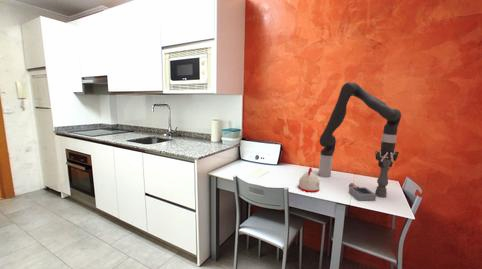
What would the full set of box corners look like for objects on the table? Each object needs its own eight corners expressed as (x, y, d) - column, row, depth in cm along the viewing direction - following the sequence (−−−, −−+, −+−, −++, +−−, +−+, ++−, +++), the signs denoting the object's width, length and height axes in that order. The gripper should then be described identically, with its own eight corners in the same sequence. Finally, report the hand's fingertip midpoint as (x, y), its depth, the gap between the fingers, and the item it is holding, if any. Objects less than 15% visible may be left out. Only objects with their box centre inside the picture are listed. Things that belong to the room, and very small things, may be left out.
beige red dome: (296, 189, 151) (297, 168, 148) (300, 182, 163) (302, 163, 160) (317, 194, 145) (319, 172, 142) (320, 187, 157) (322, 166, 154)
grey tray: (343, 189, 155) (344, 182, 154) (358, 189, 155) (359, 182, 154) (358, 201, 137) (359, 194, 136) (375, 201, 138) (376, 194, 137)
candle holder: (382, 193, 149) (387, 157, 144) (388, 197, 142) (394, 160, 138) (373, 193, 148) (378, 157, 144) (378, 197, 142) (384, 159, 138)
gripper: (395, 140, 143) (391, 165, 146) (373, 139, 142) (370, 165, 145) (404, 142, 135) (400, 169, 139) (381, 142, 135) (377, 168, 138)
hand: (384, 166), depth 142 cm, fingers closed on candle holder, 5 cm apart
